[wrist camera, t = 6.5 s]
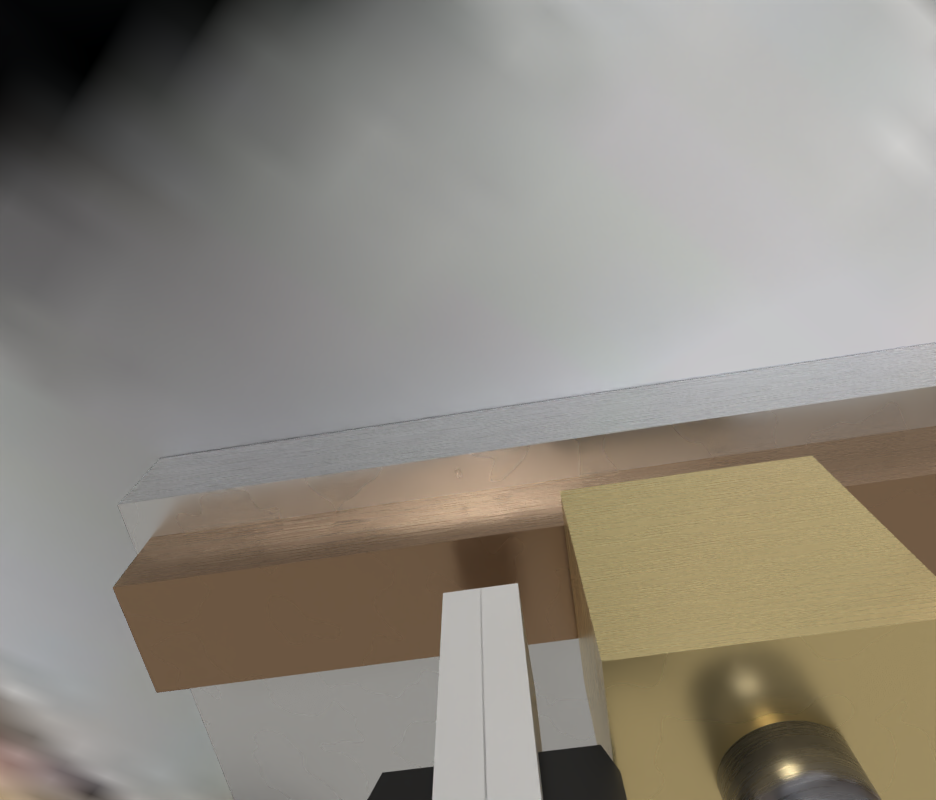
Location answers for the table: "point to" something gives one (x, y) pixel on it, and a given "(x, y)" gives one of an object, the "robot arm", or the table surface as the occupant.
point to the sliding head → (753, 637)
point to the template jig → (456, 550)
